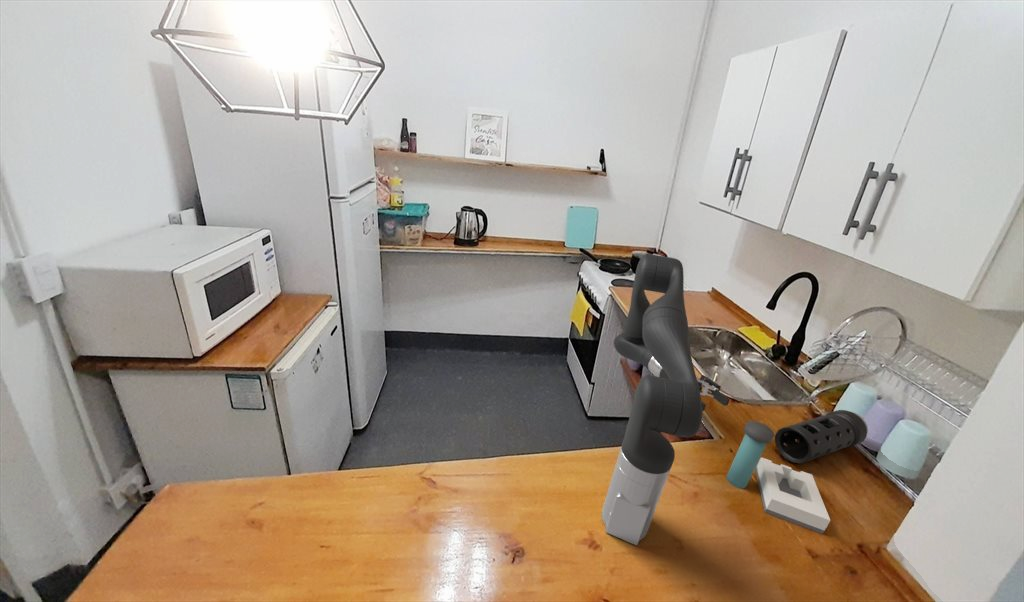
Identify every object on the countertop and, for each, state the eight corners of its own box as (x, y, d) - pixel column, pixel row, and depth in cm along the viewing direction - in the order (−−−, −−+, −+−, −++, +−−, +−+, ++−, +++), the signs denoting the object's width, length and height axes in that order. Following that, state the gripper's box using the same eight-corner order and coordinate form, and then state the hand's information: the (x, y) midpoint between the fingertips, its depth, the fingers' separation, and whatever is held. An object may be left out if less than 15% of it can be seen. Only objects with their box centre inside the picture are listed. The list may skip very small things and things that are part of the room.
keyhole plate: (822, 534, 85) (830, 520, 83) (764, 512, 88) (771, 498, 87) (805, 487, 97) (812, 474, 96) (755, 469, 100) (760, 457, 99)
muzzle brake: (766, 449, 109) (781, 418, 105) (825, 430, 121) (840, 401, 117) (802, 475, 101) (819, 443, 97) (860, 452, 113) (878, 423, 109)
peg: (751, 494, 93) (776, 441, 87) (724, 484, 94) (748, 431, 88) (747, 477, 98) (771, 426, 92) (722, 468, 99) (745, 417, 93)
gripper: (653, 361, 109) (700, 398, 96) (690, 355, 115) (740, 389, 102) (646, 384, 112) (691, 422, 99) (683, 377, 118) (730, 412, 105)
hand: (716, 405), depth 100 cm, fingers open, 8 cm apart
